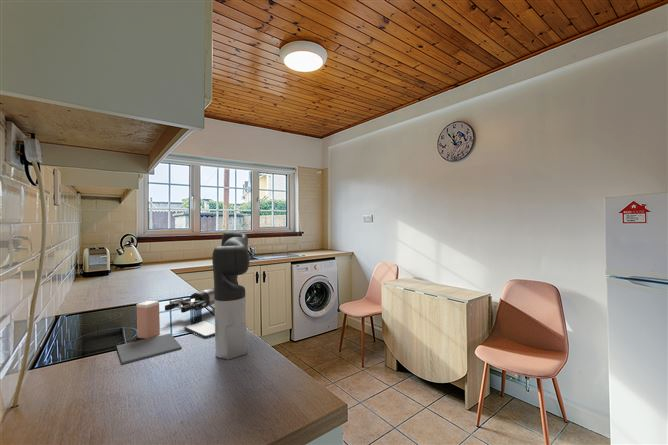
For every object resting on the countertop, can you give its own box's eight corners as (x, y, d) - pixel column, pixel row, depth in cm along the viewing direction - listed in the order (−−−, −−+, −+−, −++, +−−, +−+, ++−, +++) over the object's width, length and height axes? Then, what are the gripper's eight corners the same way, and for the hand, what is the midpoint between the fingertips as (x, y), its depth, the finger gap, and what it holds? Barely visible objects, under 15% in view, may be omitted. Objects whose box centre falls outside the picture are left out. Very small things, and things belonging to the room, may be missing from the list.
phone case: (227, 333, 114) (204, 324, 124) (227, 329, 114) (204, 320, 124) (205, 341, 107) (182, 330, 117) (204, 336, 107) (182, 326, 117)
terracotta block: (159, 333, 113) (159, 301, 113) (147, 338, 109) (146, 305, 109) (150, 332, 115) (149, 300, 115) (137, 337, 110) (136, 304, 110)
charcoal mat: (181, 348, 100) (181, 346, 100) (121, 364, 89) (121, 362, 89) (170, 335, 112) (170, 333, 112) (116, 347, 102) (116, 345, 102)
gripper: (191, 289, 140) (159, 298, 124) (216, 291, 135) (187, 301, 120) (191, 306, 140) (160, 317, 125) (216, 308, 135) (187, 320, 120)
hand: (173, 309), depth 122 cm, fingers open, 8 cm apart
